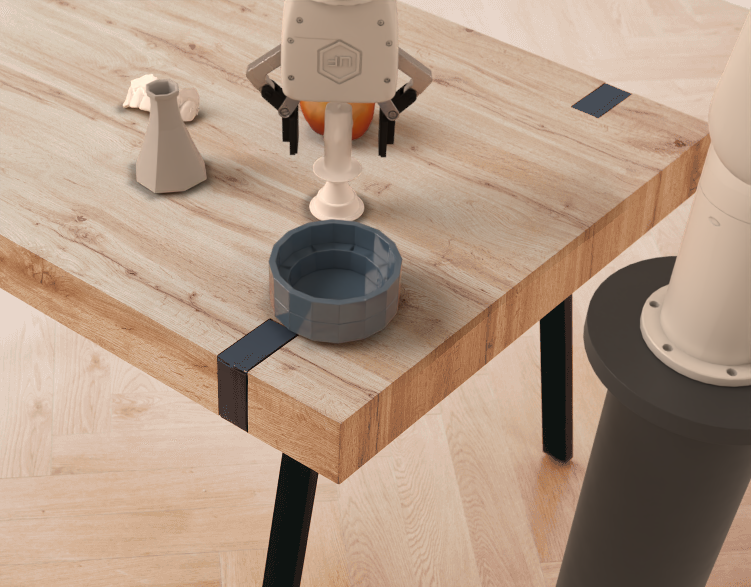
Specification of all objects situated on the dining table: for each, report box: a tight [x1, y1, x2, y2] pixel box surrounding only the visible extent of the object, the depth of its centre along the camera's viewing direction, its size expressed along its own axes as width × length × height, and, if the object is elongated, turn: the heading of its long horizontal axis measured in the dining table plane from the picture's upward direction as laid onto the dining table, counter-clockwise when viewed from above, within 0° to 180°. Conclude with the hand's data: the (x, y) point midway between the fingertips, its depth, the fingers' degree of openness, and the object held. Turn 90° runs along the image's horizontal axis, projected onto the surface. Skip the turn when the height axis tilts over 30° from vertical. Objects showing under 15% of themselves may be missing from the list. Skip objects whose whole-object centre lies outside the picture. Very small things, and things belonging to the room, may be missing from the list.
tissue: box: [122, 73, 201, 122], centre depth 116 cm, size 6×8×4 cm
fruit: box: [299, 101, 376, 141], centre depth 114 cm, size 8×8×8 cm
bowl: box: [268, 219, 403, 344], centre depth 93 cm, size 11×11×5 cm
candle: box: [308, 102, 365, 221], centre depth 101 cm, size 5×5×12 cm
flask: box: [135, 78, 208, 194], centre depth 105 cm, size 7×7×10 cm
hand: (338, 147), depth 100 cm, fingers open, 7 cm apart
